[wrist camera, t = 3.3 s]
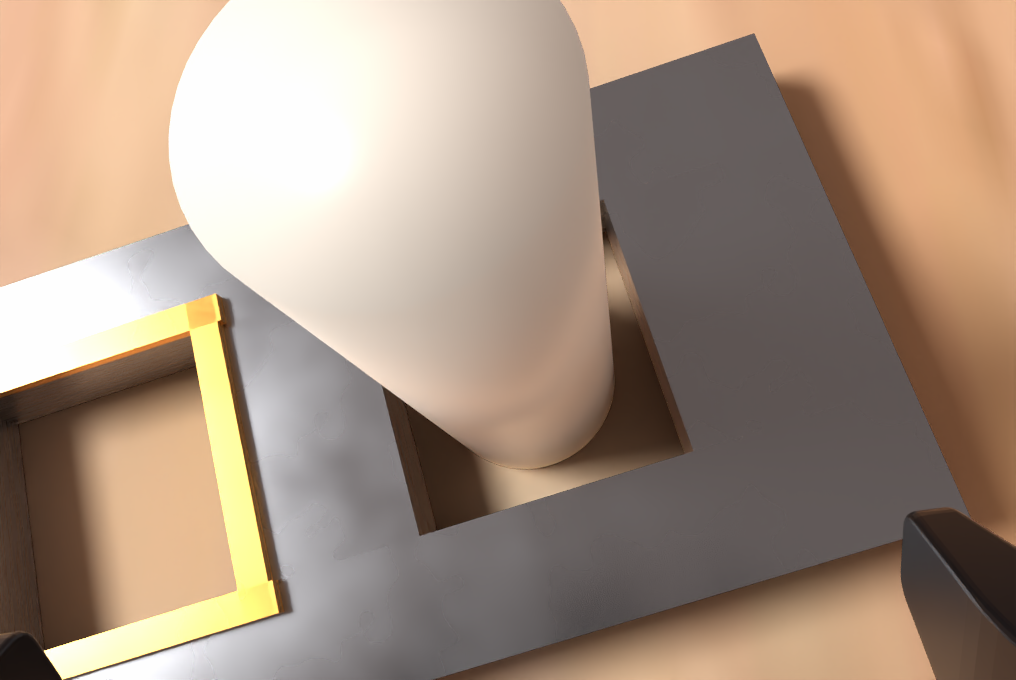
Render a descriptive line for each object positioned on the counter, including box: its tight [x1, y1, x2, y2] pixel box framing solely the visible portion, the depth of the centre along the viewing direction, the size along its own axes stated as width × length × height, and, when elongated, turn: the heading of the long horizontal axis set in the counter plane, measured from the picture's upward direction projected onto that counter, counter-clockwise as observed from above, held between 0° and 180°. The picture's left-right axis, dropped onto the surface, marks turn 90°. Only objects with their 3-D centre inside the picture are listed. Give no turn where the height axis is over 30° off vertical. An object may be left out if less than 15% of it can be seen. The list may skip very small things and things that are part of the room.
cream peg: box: [169, 0, 615, 469], centre depth 15 cm, size 4×4×13 cm
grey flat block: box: [0, 34, 971, 680], centre depth 20 cm, size 26×12×2 cm, turn 106°
